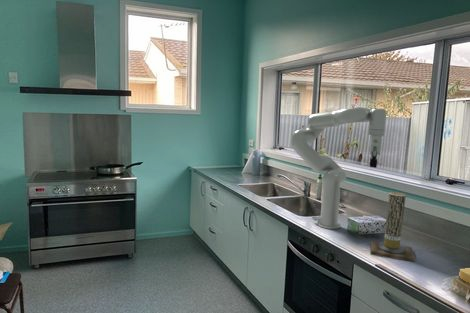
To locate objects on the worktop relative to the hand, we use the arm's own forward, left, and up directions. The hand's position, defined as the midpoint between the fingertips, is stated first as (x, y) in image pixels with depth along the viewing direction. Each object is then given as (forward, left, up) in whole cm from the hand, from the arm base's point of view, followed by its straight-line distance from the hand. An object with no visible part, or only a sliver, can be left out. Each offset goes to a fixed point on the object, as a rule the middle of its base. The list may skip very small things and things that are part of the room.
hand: (373, 166), depth 187 cm
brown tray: (+11, -22, -36) cm, 44 cm away
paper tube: (+11, -22, -34) cm, 42 cm away
